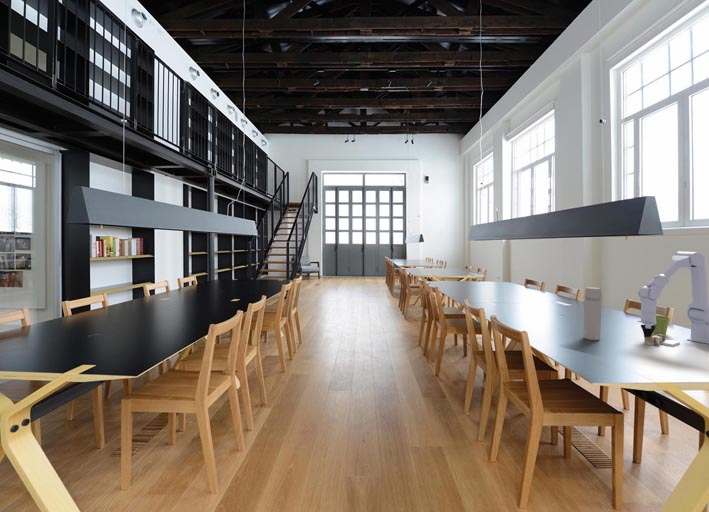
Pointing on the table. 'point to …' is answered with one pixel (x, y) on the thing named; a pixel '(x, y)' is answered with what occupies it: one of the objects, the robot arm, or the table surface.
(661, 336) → the oak arm
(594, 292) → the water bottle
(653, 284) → the robot arm
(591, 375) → the table surface
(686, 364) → the table surface
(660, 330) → the plant pot
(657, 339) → the stop post
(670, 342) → the mounting plate
